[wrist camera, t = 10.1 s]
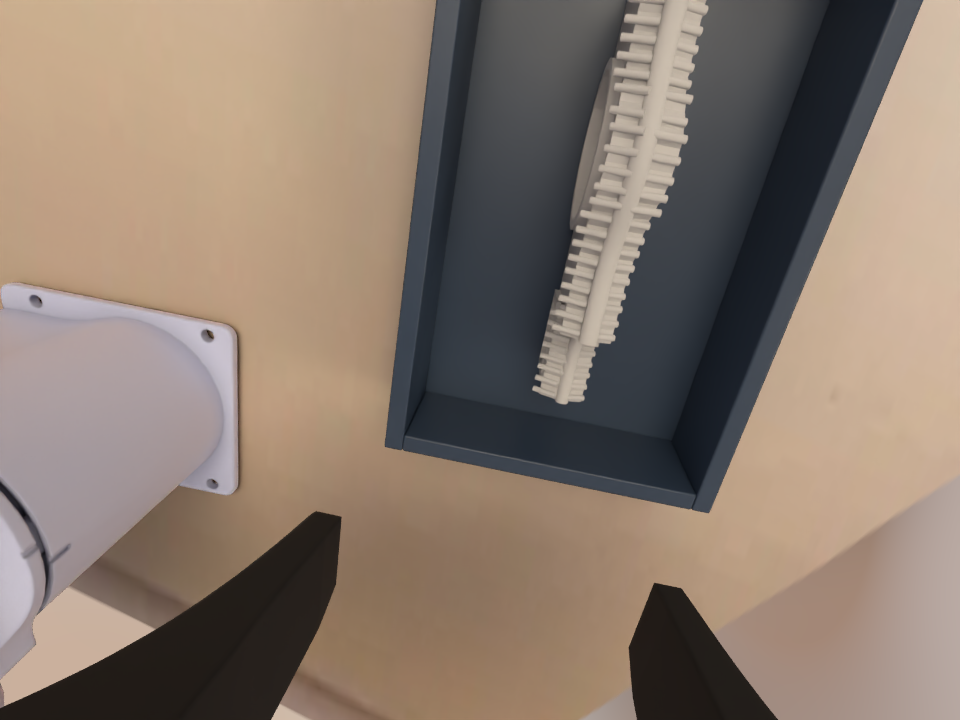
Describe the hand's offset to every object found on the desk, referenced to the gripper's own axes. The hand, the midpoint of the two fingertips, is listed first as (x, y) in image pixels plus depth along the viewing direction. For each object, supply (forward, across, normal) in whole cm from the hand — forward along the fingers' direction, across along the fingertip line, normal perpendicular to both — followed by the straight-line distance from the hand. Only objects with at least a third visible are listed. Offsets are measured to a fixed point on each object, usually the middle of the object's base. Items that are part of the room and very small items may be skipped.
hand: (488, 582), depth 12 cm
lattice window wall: (+9, -1, -8) cm, 12 cm away
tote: (+9, -2, -8) cm, 12 cm away
